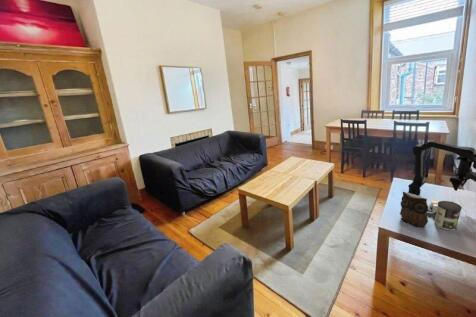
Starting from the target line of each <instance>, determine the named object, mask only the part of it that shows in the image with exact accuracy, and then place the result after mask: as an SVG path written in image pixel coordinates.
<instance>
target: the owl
mask: <svg viewBox="0 0 476 317" xmlns="http://www.w3.org/2000/svg"><path fill="white" fill-rule="evenodd" d="M400 207H401V208H400V212H399V215H400V216H401V218H400V221H402V222H403V223H404V222H405V224H408V225H409V224H410V225H409V226H412V227H414V228H422V229H425V227H426V225H427V224H428V223H429V219H428V218H429V217H428V215H427V213H426V212H428V207H429V205H428V198H425V197H423V196H421V195H419V196H417V195H415V194H411V193H408V192H405V191H403V192H402V197H401V201H400Z"/></svg>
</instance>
